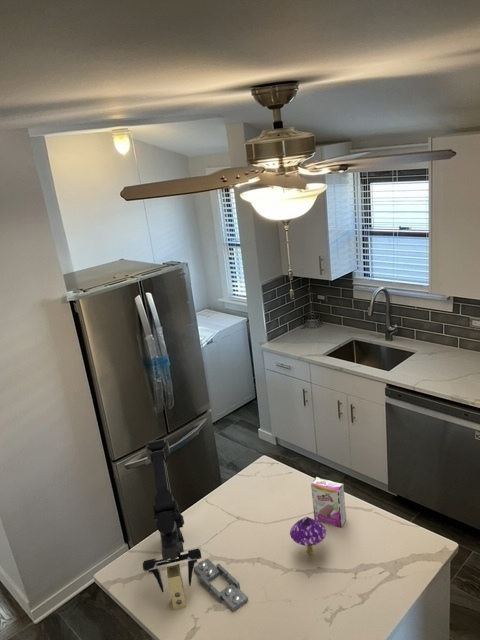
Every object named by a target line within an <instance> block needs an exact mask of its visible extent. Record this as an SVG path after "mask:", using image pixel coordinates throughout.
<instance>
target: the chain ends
mask: <svg viewBox="0 0 480 640" xmlns="http://www.w3.org/2000/svg"><path fill="white" fill-rule="evenodd" d="M193 572H194V573H195V574H196V575H197V576H198V577H199V581H200V584H202V586H204V587H205V588H206V589H207V591H209V592H210V594H211V595H212V596H213V597H215V599H216V600H217V601H218V602H219V603H221V604H222V603H224V604H225V605H226V606H227V607H228V608H229V609H230V610H231V611H232V612H235V611H237V610H238V609H239V608H241V607H242V606H243V605H245V604H247V603H248V602H249V597H248V596H247V595H246V594H245V593H244V592H243V591H242V590H241V585H240V584H241V583H240V582H239V581H238V580H237V579H236V578H235V577H234V576H233V575H232V574H231V573H229V571H228V570H227V569H226V568H224V567H223V566H222V565H221V564H220V563H217V564H216V565H215V564H214V563H213V562H212V561H211V560H210V559H209V558H206V559H204V560H201V561H200V562H199V563H198V564H197V565H194V568H193ZM219 576H222V577H223V578H224V579H225V580H226V581H227V582H229V584H230V585H228V586H226V587H225V588H224V589H222V590H221V591H218V589H217V588H216V587H215V586H214V585H213V584H212V583H211V582H212V581H213V580H215V579H216V578H218V577H219Z"/></svg>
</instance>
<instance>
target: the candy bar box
mask: <svg viewBox="0 0 480 640" xmlns="http://www.w3.org/2000/svg"><path fill="white" fill-rule="evenodd" d="M310 485H311V487H310V488H311V497H312V505H313V506H312V507H313V517H314V518H313V519H314V520H317V521H319V522H320V523H324V524H327V525H332V526H335V527H336V528H337V527H338V528H342V527H343V526H344V524H345V523H346V521H347V516H346V515H347V514H346V502H345V501H346V500H345V487H344V483H340V482H337V481H332V480H328V479H325V478H321V477H318V476H316V477H315V478H314V480H313V481H311V484H310Z"/></svg>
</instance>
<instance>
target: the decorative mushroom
mask: <svg viewBox="0 0 480 640" xmlns="http://www.w3.org/2000/svg"><path fill="white" fill-rule="evenodd" d="M289 535H290V537H291V540H293V541H294V542H295V543H296V544H298V545H301V546H304V547H305V546H306V548H307V551H306V552H307V554H308V555H312V554H313V553H314V550H313V546H315V545H317V544H319V543H321V542H322V541H323V540H324V539H325V537H326V535H327V529H326V527H325V526H324V525H323V524H322V522H321V521H317V520H315V519H314V518H312V517H310V516H305V517H303V518H301V519H299V520H298V521H296V522H295V523H294V524H293V526H291V528H290V530H289Z"/></svg>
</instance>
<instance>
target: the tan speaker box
mask: <svg viewBox="0 0 480 640" xmlns="http://www.w3.org/2000/svg"><path fill="white" fill-rule="evenodd" d="M166 574H167V575H166V578H167V583H168V587H169V592H170V597H171V602H172V607H173V610H179V609H182V608H183V609H184V608H187V598H186V591H185V588H184V587H185V586H184V582H183V577H182V571H181V566H180V564H174V565H170V566H166Z"/></svg>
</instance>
